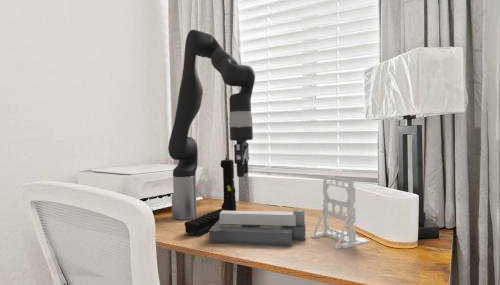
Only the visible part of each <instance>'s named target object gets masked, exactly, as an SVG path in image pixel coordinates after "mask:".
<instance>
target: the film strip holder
mask: <svg viewBox="0 0 500 285" xmlns="http://www.w3.org/2000/svg"><path fill="white" fill-rule="evenodd" d="M328 180H330V182H328ZM333 181H335V183H333ZM339 182H341V183H342V184H341V185H340V184H339ZM345 183H347V185H345ZM354 184H355V183H354V179H348V178H342V177H336V176H330V175H326V174H324V175H323V181H322V194H323V203H322V210H321V213H320V216H319V218H318V221H317V224H316V226H315V228H314V232H313V234H311V235H310V238H311V239H317V238H321V237H324V236H326V237H329V238H331V239H334V240H335V241H338V242H337V244H335V245H334V249H335V250H339V249H344V250H346V249H349V248H355V246H359V245H365V244H368V243H370V239H367V238H365V237H360V236H358V234H357V232H356V230H357V229H356V227H355V223H356V218H357V216H356V207H354V206H355V203H356V187H354ZM329 186H333V187H337V188H341V189H345V190H346V193H347V196H348V197H347V199H346V201H344V200H341V199H336V198H331V197H330V196H329V192H328V189H329ZM329 204H331V209H329ZM336 205H337V206H338V207H339V208H338V209H339V210H338V212H337V211H336ZM344 208H346V214H344V211H343V210H344ZM322 217H323V231H318V230H319V226H320V223H321V221H322ZM329 217H334V218H336V219H339V220H342V221H345V222H344V225H343V227H342V229H339V230H337V229H333V228H331V227H330V225H329V222H328V220H329ZM346 227H348V228H347V231H346Z"/></svg>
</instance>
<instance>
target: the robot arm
mask: <svg viewBox="0 0 500 285" xmlns="http://www.w3.org/2000/svg"><path fill="white" fill-rule="evenodd" d="M184 45H185V46H184V55H183V68H182V74H181V80H180V86H179V91H178V97H177V105H176V111H175V117H174V121H173V126H172V129H171V133H170V137H169V140H168V155H169V156H170V158H171V159H173V160H175V161H178V164H177V165H176V167H174V168H173V170H172V186H173V191H172V192H173V194H172V195H171V216H172V219H175V220H180V221H181V220H182V221H184V220H192V219H195V218H198V216H197V215H198V214H197V213H198V211H197V175H196V172H197V169H198V159H199V158H198V155H199V150H198V143H197V141H196V140H195V139H194V138H193V137H191V136H189V131H190V127H191V124H192V123H193V121H194V119H195V118H196V116H197V115H198V114H199V112H200V108H201V105H202V100H203V93H204V91H203V90H204V89H203V86H202V82H201V80H200V77H199V75H198V71H197V68H196V67H197V65H196V64H197V63H196V62H197V61H196V60H197V56H198V57H202V58H207V59H210V62H211V65H212V67H213V68H214V69H215V70H216V71H217V72H218V73H219V74H220V76H221V78H222V81H223V82H224V83H225V85H228V86H230V87H240V90H239V92H237V93H233V94H231V95H229V120H228V121H229V122H228V124H229V140H230V141H233V142H234V141H236V143H235V144H234V145H233V148H234V149H233V150H234V151H233V153H234V155H233V156H234V160H233V161H234V164H235V165H236V177H238V178H243V177H244V176H245V175H246V174H249V160H250V153H249V151H250V150H249V149H250V148H249V145H250V144H249V143H248V142H247V141H252V140H253V138H254V134H253V133H254V131H253V115H252V103H251V102H252V101H251V99H252V96H253V90H254V86H255V82H256V73H255V70H254V69H253V67H252V66H251V65H246V64H245V65H243V64H239V63H238V61H237V60H236V59H235V57H233V56H232V55H231V54H230V53H228V52H227V51H226V50H225V49H224V48H223V47H222V46H221V45H220V44H219V41H217V39H216V38H215V37H214V35H212V34H209V33H207V32H205V31H204V32H203V31H201V30H197V29H191V30H189V32H188V33H187V36H186V39H185V44H184Z"/></svg>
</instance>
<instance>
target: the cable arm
mask: <svg viewBox="0 0 500 285" xmlns="http://www.w3.org/2000/svg"><path fill="white" fill-rule="evenodd" d="M305 220H306V218H305V210H304V209H294V210H293V211H262V210H261V211H257V210H255V211H254V210H236V211H221V212H220V224H243V225H280V226H303V225H305V226H306V221H305Z"/></svg>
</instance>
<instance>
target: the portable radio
mask: <svg viewBox="0 0 500 285" xmlns="http://www.w3.org/2000/svg"><path fill="white" fill-rule="evenodd" d="M234 161H235V160H234V159H228V154H227V153H226V154H225V159H222V160H220V168H222V179H223V180H222V182H223V188H222V190H223V202H222V204H221V209H226V210H229V211H237V203H236V187H235V169H234V168H235V166H234V164H235V162H234Z"/></svg>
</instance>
